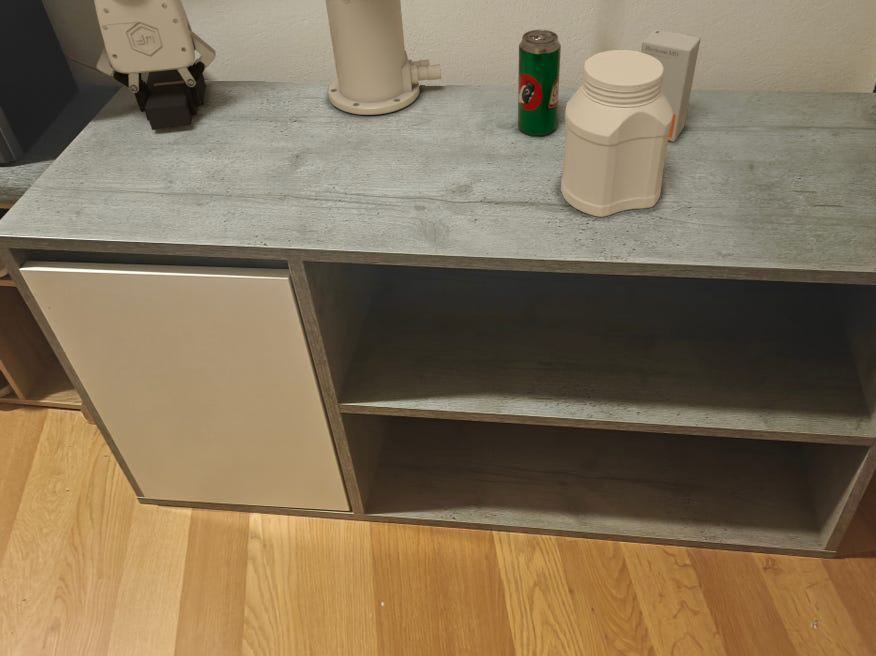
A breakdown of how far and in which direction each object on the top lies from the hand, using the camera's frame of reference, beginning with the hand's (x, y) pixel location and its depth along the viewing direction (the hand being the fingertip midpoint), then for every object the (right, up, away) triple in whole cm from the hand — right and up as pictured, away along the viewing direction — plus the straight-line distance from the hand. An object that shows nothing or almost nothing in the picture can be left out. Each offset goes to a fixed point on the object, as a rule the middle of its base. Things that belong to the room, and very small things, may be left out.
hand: (173, 112), depth 107 cm
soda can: (+48, -3, -3) cm, 49 cm away
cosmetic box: (+64, -4, -4) cm, 64 cm away
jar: (+56, -13, -13) cm, 59 cm away
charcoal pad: (-1, +4, +5) cm, 7 cm away
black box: (0, 0, 0) cm, 0 cm away
